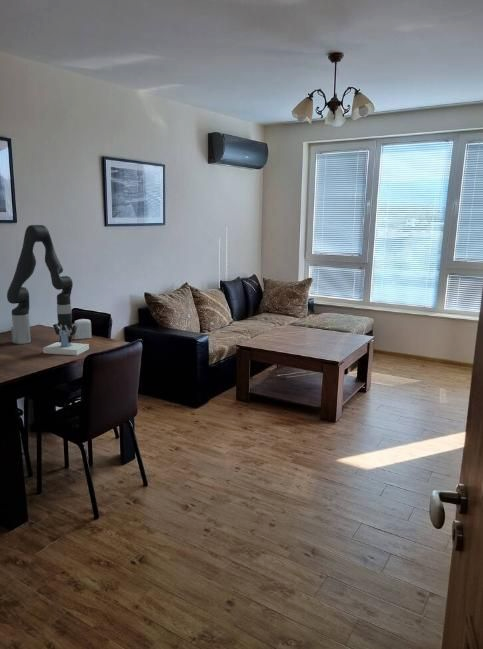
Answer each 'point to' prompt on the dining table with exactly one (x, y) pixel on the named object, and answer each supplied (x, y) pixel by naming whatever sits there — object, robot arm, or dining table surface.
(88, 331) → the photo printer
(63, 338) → the peg
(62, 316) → the robot arm
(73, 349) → the socket
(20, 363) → the dining table surface
